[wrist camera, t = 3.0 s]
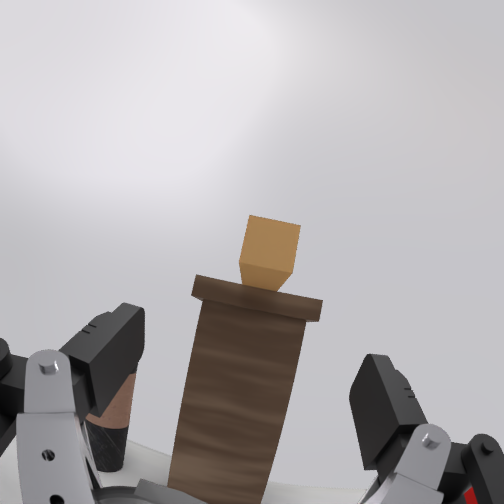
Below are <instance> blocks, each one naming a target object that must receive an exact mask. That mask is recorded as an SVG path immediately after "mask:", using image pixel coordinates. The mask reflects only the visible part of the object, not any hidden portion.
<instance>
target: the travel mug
mask: <svg viewBox="0 0 504 504" xmlns="http://www.w3.org/2000/svg"><path fill="white" fill-rule="evenodd" d="M137 366H138V363H137V365H136V366H135V367H134V369H133V370H132V372H131V373H130V375H129V376H128V378H127V379H126V381H125V382H124V383H123V385H122V386H121V388H120V389H119V391H118V392H117V394H116V395H115V397H114V398H113V400H112V401H111V403H110V404H109V406H108V407H107V409H106V410H105V411H104V413H103V414H102V416H101V417H100V418H99V417H96V416H94V415H92V414H90V413H88V415H87V416H86V418H85V419H84V421H85V425H86V429H87V434H88V438H89V443H90V447H91V451H92V455H93V459H94V462H95V466H96V469H97V470H99V471H103V472H115V471H118V470H120V469H121V468H122V466H123V461H124V454H125V447H126V440H127V434H128V427H129V420H130V413H131V405H132V397H133V390H134V384H135V378H136V371H137Z"/></svg>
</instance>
